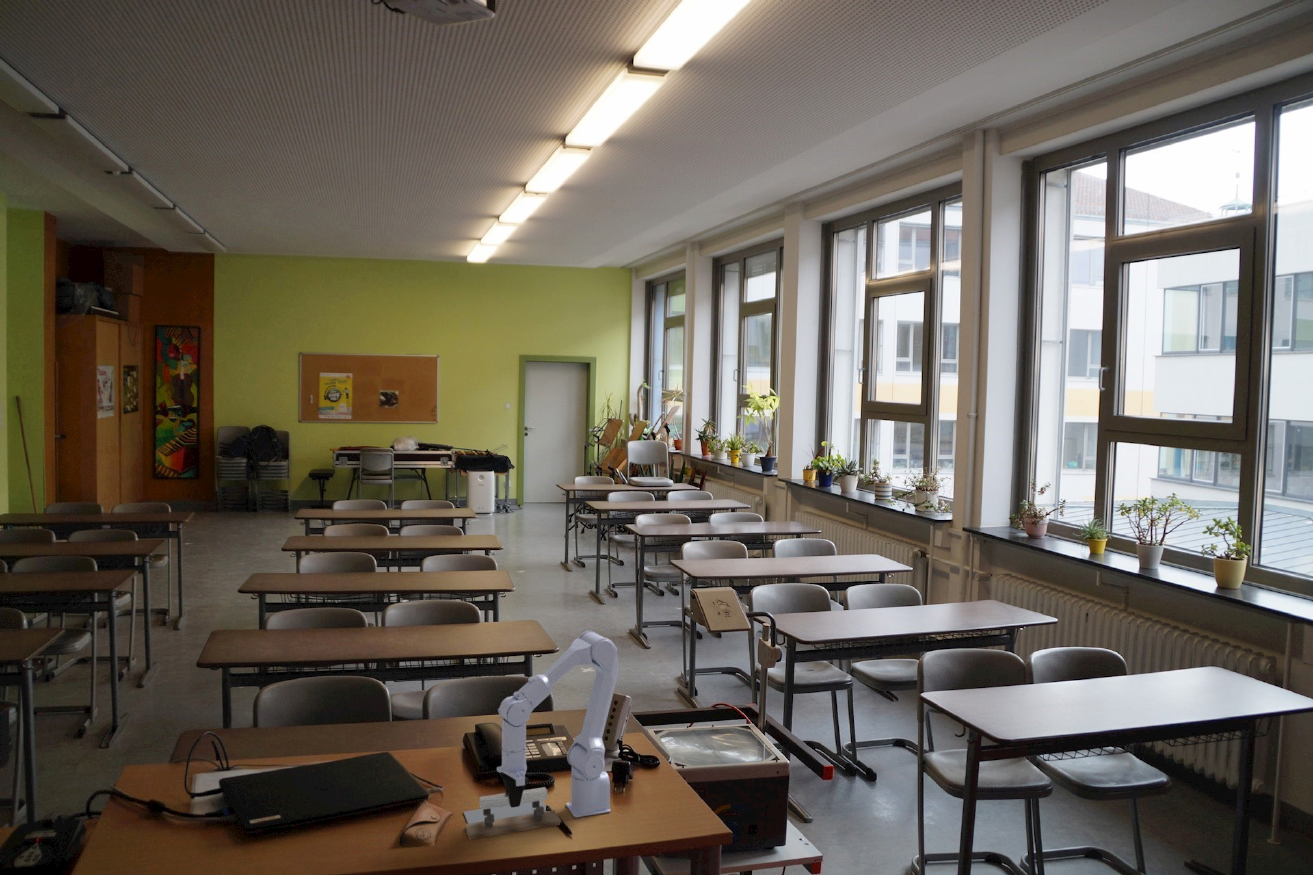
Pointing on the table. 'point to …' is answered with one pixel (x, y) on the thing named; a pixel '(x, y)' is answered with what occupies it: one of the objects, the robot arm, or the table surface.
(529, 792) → the rail
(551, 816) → the hook rack
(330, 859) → the table surface
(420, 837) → the sunglasses case
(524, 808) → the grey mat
